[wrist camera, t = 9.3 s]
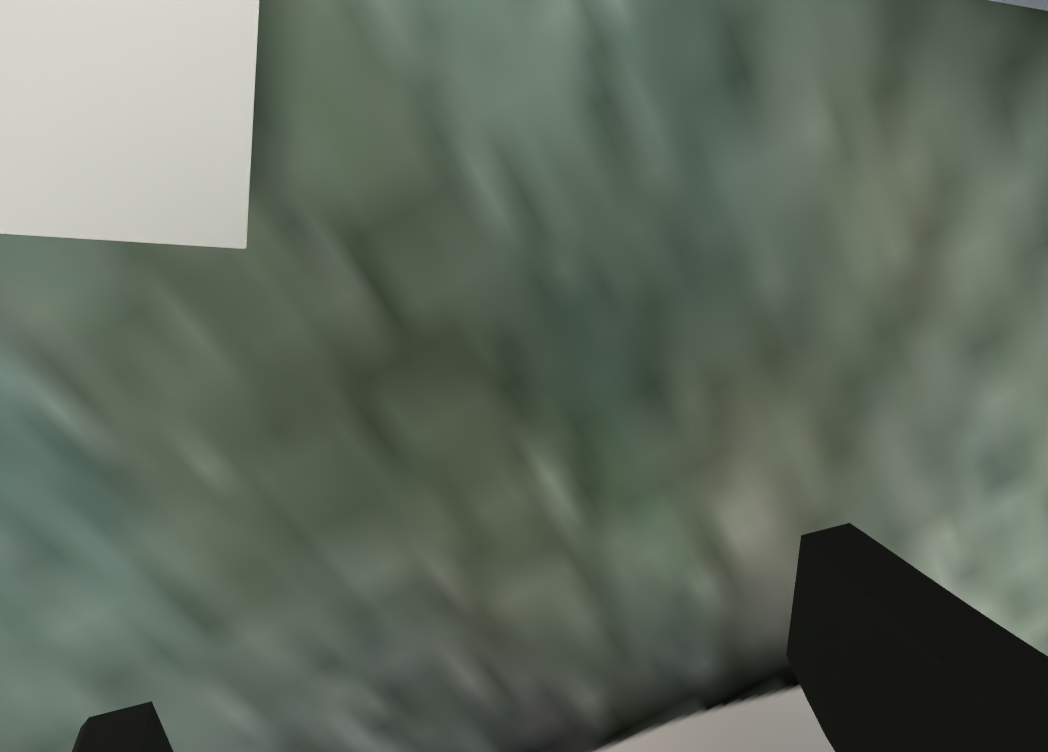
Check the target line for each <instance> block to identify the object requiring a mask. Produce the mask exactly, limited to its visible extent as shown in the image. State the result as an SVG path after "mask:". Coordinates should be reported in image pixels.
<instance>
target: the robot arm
mask: <svg viewBox="0 0 1048 752" xmlns="http://www.w3.org/2000/svg"><path fill="white" fill-rule="evenodd" d="M989 1H995V2H1001V3H1006V4H1012V5H1018V6H1023V7H1029V8H1035V9H1040V10H1046V11H1048V0H989ZM786 655H787V658H788V660H789V662H790V664H791V666H792V668H793V670H794V672H795V675H796V677H797V679H798V681H799V683H800V685H801V687H802V689H803V692H804V693H805V696H806V698H807V700H808V702H809V704H810V706H811V708H812V710H813V712H814V714H815V716H816V718H817V719H818V722H819V724H820V726H821V728H822V730H823V732H824V733H825V735H826V737H827V739H828V740H829V742H830V744H831V745H832V747H833V749H834V750H835V752H1048V656H1046V655H1045V654H1043V653H1041V652H1040V651H1038V650H1037V649H1035V648H1034V647H1032V646H1030V645H1029V644H1027V643H1026V642H1024V641H1023V640H1021V639H1020V638H1018V637H1016V636H1015V635H1013V634H1012V633H1010V632H1009V631H1007V630H1006V629H1004V628H1003V627H1001V626H1000V625H998V624H997V623H995V622H994V621H992V620H991V619H989V618H988V617H986V616H985V615H983V614H982V613H980V612H979V611H977V610H976V609H974V608H973V607H971V606H970V605H968V604H967V603H965V602H964V601H962V600H961V599H959V598H958V597H956V596H955V595H954V594H952V593H951V592H949V591H948V590H946V589H945V588H943V587H942V586H940V585H939V584H937V583H936V582H935V581H933V580H932V579H930V578H929V577H927V576H926V575H924V574H923V573H921V572H920V571H919V570H917V569H916V568H914V567H913V566H911V565H910V564H909V563H907V562H906V561H904V560H903V559H901V558H900V557H898V556H897V555H896V554H894V553H893V552H891V551H890V550H888V549H887V548H886V547H884V546H883V545H881V544H880V543H878V542H877V541H875V540H874V539H872V538H871V537H870V536H868V535H867V534H865V533H864V532H862V531H861V530H859V529H858V528H856V527H855V526H853V525H852V524H850V523H848V524H844V525H840V526H836V527H832V528H828V529H824V530H820V531H816V532H812V533H809V534H805V535H801V542H800V550H799V558H798V566H797V574H796V582H795V590H794V598H793V606H792V614H791V622H790V630H789V638H788V646H787V654H786ZM72 752H173V750H172V748H171V745H170V743H169V741H168V738H167V736H166V734H165V731H164V729H163V727H162V724H161V722H160V720H159V717H158V715H157V713H156V710H155V708H154V706H153V703H152V701H151V702H148V703H144V704H140V705H136V706H132V707H128V708H124V709H120V710H116V711H112V712H108V713H104V714H101V715H97V716H93V717H89V718H88V719H87V721H86V722H85V723H84V724H83V726H82V727H81V729H80V731H79V734H78V737H77V739H76V742H75V745H74V748H73V750H72Z"/></svg>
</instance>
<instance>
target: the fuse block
mask: <svg viewBox="0 0 1048 752" xmlns="http://www.w3.org/2000/svg"><path fill="white" fill-rule="evenodd" d="M258 16H259V0H0V234H16V235H32V236H48V237H64V238H80V239H96V240H112V241H128V242H144V243H160V244H176V245H192V246H208V247H224V248H240V249H246V241H247V222H248V203H249V185H250V166H251V147H252V128H253V110H254V91H255V72H256V53H257V35H258Z"/></svg>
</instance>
